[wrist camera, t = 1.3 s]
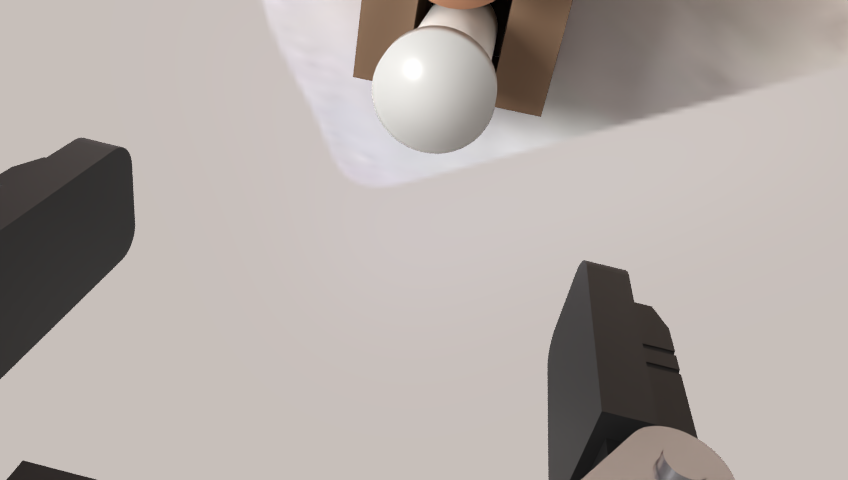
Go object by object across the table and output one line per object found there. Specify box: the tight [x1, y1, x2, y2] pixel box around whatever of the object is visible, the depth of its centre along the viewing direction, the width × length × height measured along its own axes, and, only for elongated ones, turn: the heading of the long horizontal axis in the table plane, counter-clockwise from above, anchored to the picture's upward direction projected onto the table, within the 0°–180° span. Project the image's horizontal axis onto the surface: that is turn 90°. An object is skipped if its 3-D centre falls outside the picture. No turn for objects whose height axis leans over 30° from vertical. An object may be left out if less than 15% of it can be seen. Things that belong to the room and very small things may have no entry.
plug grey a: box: [372, 3, 498, 154], centre depth 24 cm, size 4×4×9 cm
